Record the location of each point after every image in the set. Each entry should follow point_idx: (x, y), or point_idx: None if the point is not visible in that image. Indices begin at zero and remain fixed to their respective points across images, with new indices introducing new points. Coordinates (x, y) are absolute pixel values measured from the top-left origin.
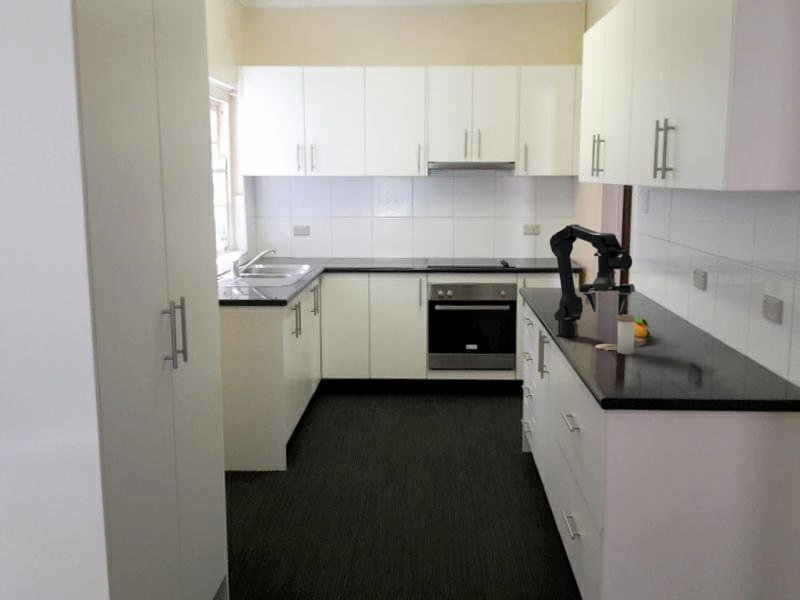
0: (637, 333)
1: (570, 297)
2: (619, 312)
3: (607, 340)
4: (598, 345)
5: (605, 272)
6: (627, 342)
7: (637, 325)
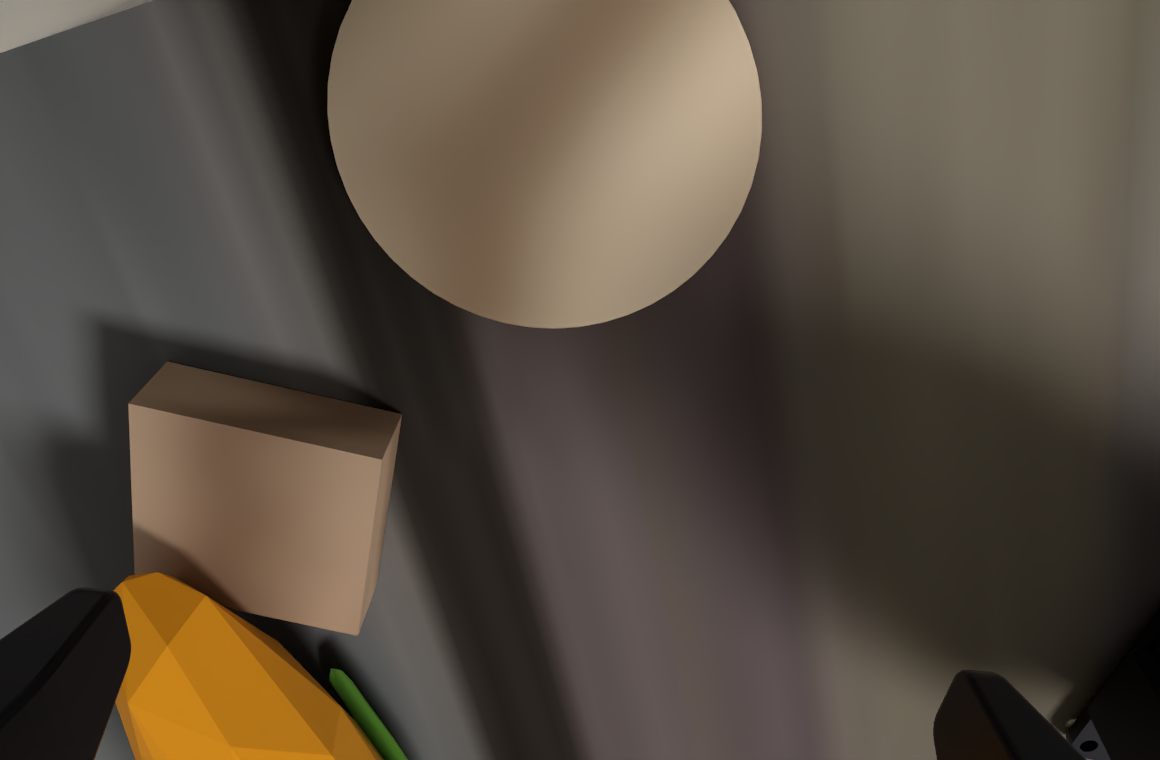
0: (223, 642)
1: None
2: (93, 591)
3: (661, 583)
4: (719, 156)
5: None
6: None
7: None
